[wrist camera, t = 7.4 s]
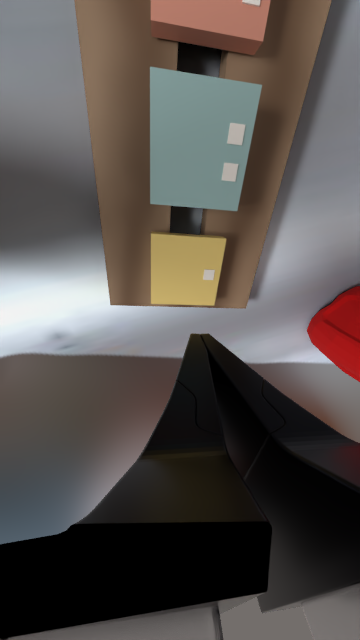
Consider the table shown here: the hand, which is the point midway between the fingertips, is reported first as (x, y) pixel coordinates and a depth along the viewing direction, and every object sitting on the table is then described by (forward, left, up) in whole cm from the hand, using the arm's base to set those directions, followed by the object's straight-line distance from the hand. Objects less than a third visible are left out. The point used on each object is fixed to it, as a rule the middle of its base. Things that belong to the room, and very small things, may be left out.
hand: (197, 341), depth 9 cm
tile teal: (+1, +8, -11) cm, 14 cm away
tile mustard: (+1, 0, -12) cm, 12 cm away
